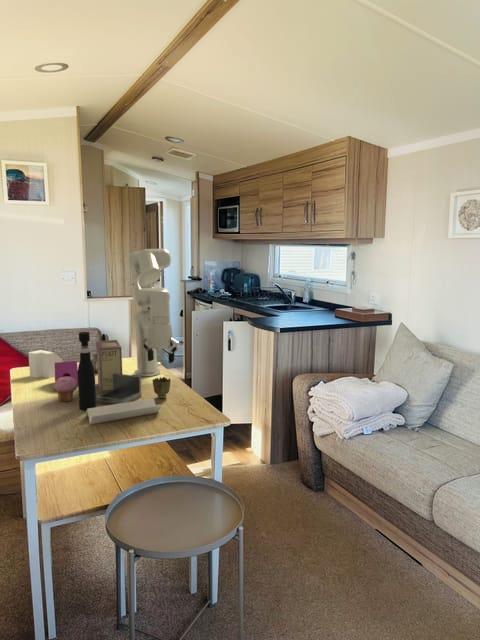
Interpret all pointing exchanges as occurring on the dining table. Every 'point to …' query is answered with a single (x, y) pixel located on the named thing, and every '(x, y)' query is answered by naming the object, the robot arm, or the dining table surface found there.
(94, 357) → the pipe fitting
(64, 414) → the dining table surface
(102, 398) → the tray
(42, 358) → the corner bracket
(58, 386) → the cupcake
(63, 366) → the mounting bracket
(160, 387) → the cup
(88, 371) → the wine bottle
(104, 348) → the box
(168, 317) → the robot arm
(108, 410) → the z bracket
